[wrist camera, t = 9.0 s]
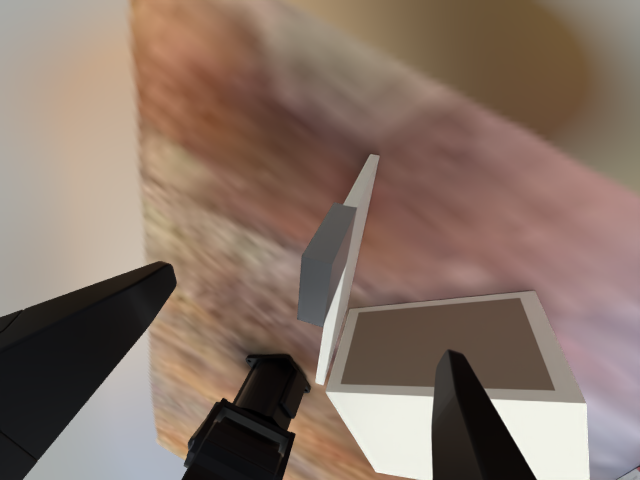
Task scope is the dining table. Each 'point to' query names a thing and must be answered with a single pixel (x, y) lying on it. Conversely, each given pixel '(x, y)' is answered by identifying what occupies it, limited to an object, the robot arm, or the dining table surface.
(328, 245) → the front flap
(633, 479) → the ink cartridge box
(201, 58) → the dining table surface
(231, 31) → the dining table surface
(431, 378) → the carton
